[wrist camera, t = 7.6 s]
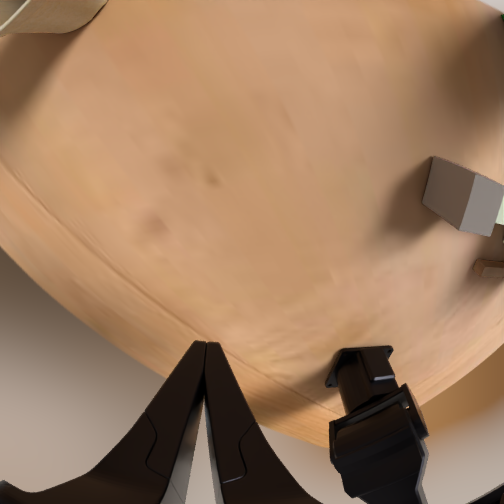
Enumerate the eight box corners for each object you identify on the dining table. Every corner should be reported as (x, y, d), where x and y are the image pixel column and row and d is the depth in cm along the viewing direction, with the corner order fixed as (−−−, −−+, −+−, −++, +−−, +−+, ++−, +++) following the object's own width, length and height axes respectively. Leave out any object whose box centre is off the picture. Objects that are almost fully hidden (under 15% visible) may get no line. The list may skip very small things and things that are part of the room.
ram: (507, 243, 22) (534, 266, 17) (414, 226, 20) (448, 257, 16) (528, 176, 18) (559, 193, 14) (438, 131, 17) (482, 144, 12)
